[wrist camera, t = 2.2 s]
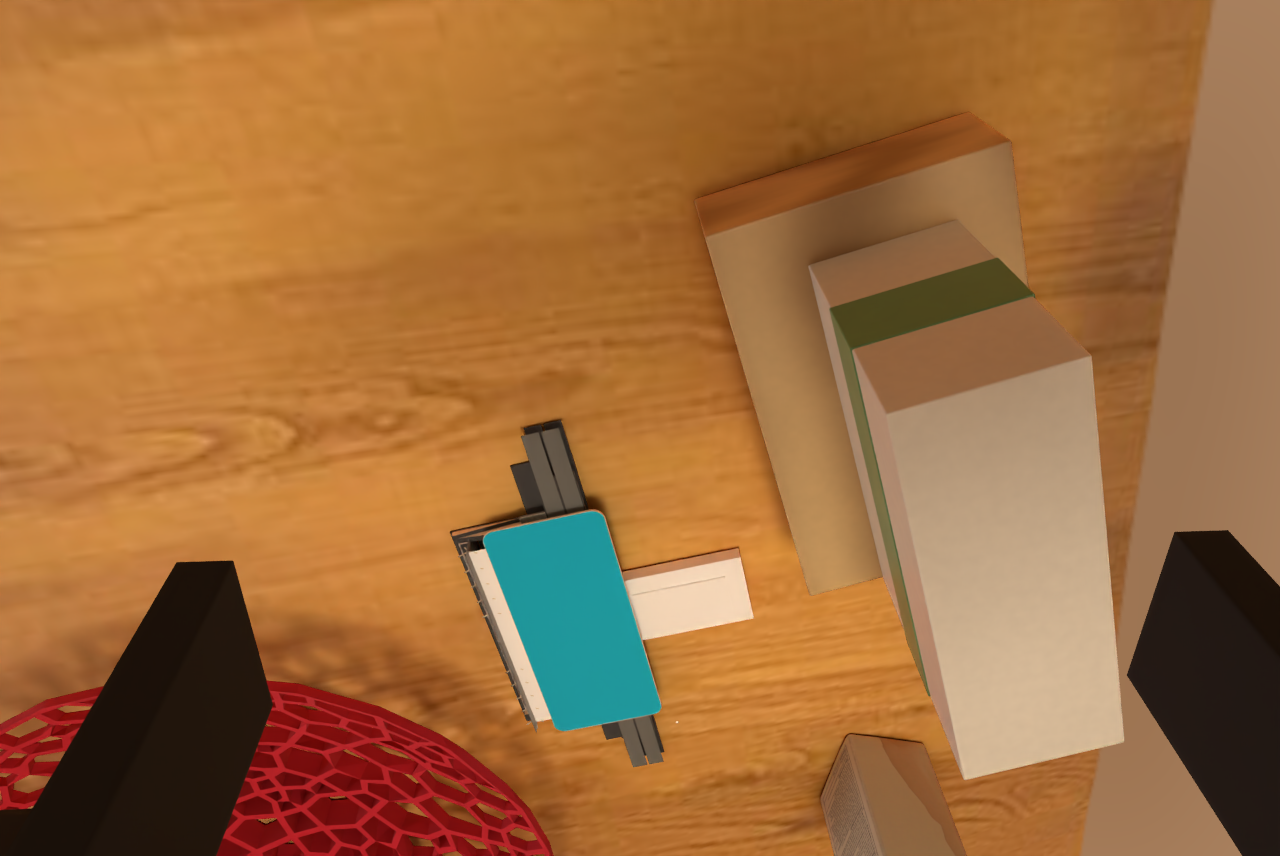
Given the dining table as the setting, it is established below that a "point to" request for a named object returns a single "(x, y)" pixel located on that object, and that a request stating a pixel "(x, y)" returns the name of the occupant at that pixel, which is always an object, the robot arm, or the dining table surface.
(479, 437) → the dining table surface
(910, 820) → the box
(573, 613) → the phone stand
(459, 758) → the bowl
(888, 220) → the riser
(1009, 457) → the packet
